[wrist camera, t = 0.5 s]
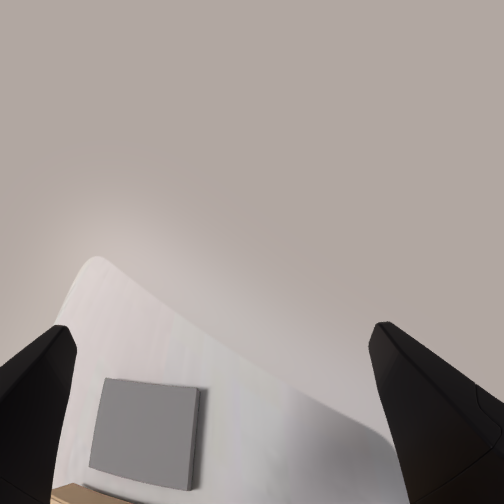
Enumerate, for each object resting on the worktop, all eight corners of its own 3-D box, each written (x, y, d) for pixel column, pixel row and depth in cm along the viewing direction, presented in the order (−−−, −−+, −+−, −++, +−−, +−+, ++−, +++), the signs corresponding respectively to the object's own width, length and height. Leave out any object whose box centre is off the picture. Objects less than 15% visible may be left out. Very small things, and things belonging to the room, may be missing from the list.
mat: (191, 490, 15) (187, 490, 15) (95, 468, 16) (88, 466, 16) (200, 391, 21) (196, 387, 20) (110, 381, 22) (105, 377, 21)
